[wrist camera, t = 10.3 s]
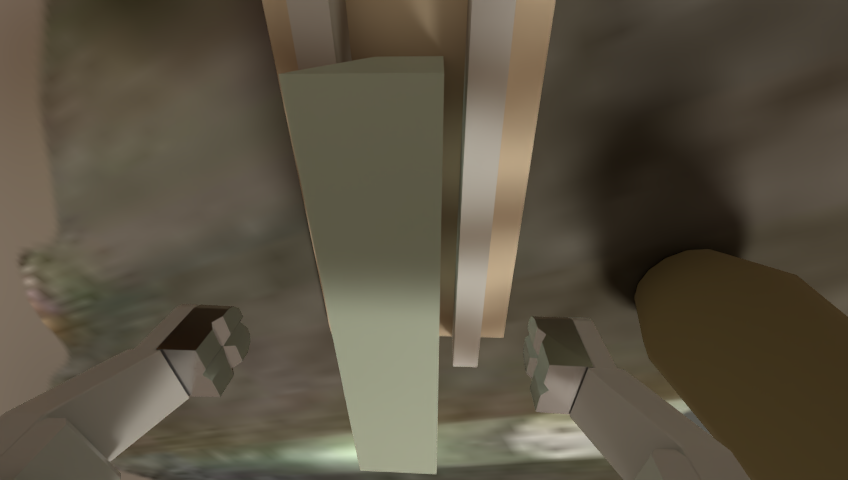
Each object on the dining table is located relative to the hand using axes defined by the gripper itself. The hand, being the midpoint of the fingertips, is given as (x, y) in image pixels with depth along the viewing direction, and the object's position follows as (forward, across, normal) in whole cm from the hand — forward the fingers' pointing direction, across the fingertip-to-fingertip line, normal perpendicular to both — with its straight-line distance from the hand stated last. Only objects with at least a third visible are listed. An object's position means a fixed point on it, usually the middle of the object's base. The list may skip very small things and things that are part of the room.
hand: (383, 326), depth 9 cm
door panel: (+10, 0, +1) cm, 10 cm away
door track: (+11, 0, +1) cm, 11 cm away
